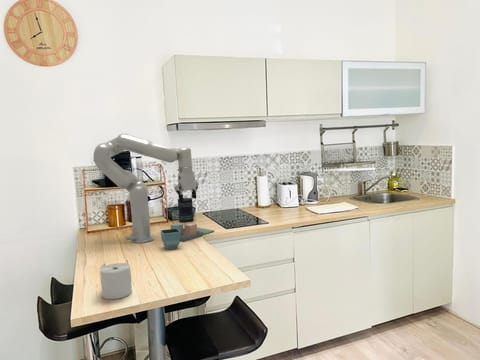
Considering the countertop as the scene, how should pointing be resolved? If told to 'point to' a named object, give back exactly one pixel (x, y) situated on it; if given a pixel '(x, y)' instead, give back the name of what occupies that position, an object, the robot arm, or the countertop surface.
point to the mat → (205, 230)
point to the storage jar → (185, 210)
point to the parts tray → (190, 236)
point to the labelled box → (190, 229)
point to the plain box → (179, 227)
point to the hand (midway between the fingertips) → (187, 199)
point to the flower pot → (170, 238)
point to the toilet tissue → (116, 280)
